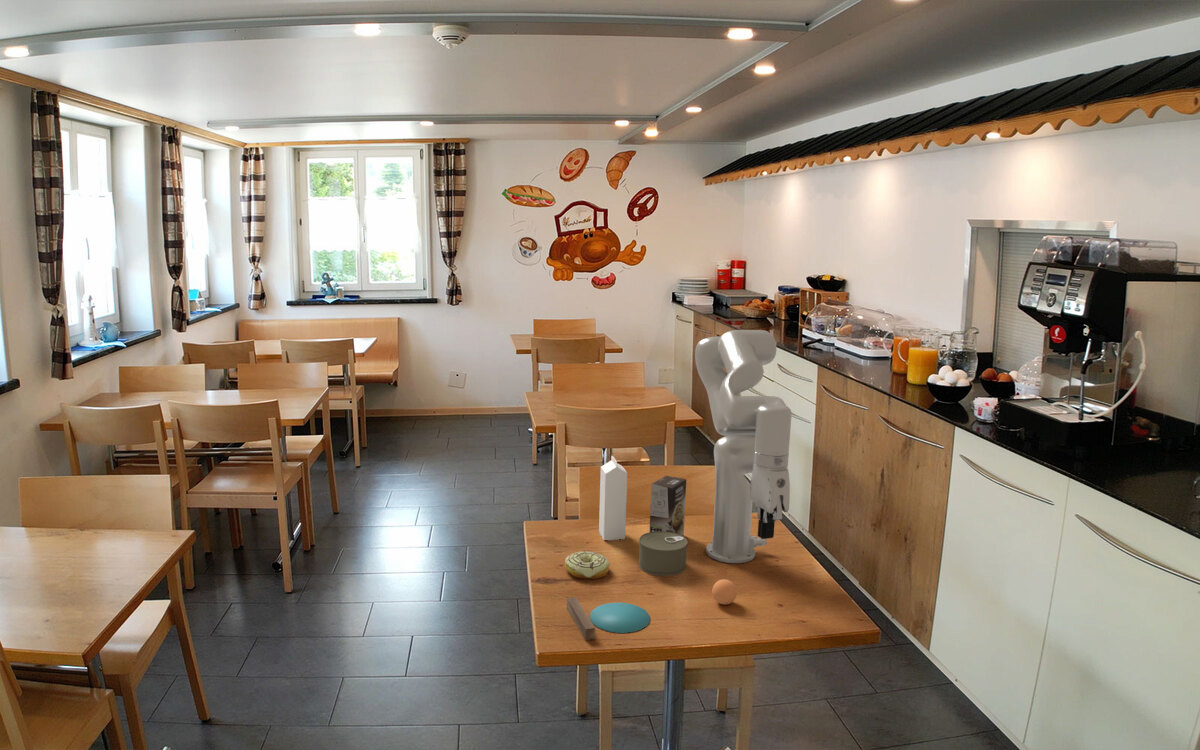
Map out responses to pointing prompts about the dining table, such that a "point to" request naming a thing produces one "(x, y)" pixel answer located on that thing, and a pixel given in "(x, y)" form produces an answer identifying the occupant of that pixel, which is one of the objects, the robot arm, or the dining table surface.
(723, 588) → the ball
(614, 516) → the milk
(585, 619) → the rail
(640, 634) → the dining table surface
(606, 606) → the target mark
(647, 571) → the can
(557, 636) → the dining table surface
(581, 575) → the decorated donut
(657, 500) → the coffee box
